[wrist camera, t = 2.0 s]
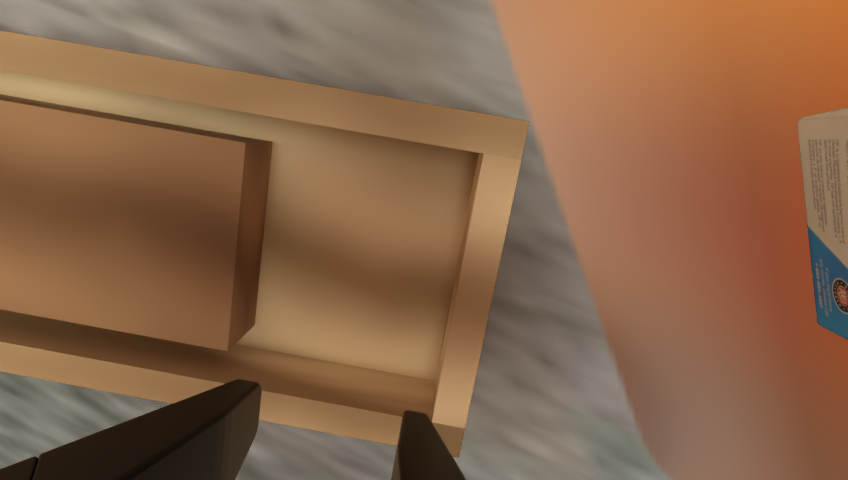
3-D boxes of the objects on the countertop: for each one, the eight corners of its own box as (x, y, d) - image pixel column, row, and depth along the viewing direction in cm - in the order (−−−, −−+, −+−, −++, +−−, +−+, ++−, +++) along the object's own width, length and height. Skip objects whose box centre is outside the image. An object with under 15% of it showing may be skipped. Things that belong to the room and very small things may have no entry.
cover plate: (254, 325, 20) (227, 351, 18) (-24, 274, 21) (-87, 292, 18) (272, 141, 19) (245, 142, 16) (-30, 88, 19) (-101, 82, 17)
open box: (458, 399, 22) (458, 457, 18) (-22, 310, 22) (-124, 347, 18) (514, 123, 19) (529, 121, 15) (-32, 30, 20) (-153, 4, 16)
